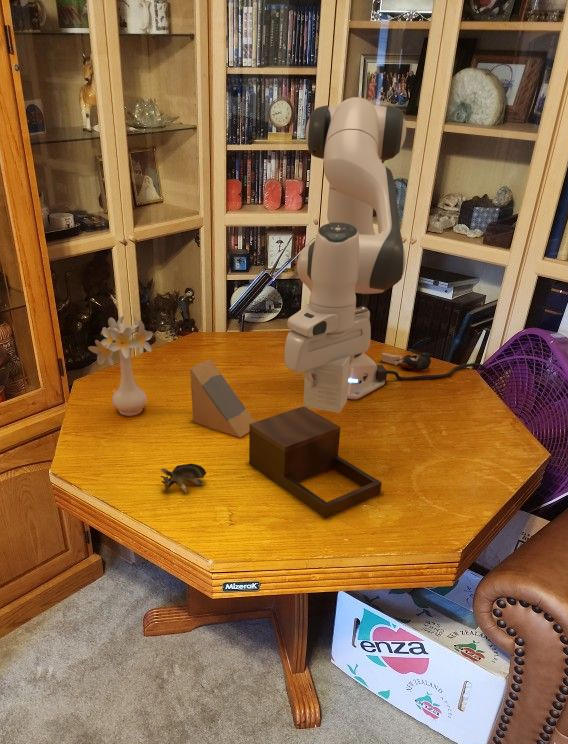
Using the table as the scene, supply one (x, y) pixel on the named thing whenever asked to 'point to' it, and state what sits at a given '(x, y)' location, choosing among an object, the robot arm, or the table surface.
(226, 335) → the table surface
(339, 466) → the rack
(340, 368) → the small box
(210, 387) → the sandwich container
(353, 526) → the table surface
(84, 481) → the table surface
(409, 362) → the toy figure
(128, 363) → the flower vase
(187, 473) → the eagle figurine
